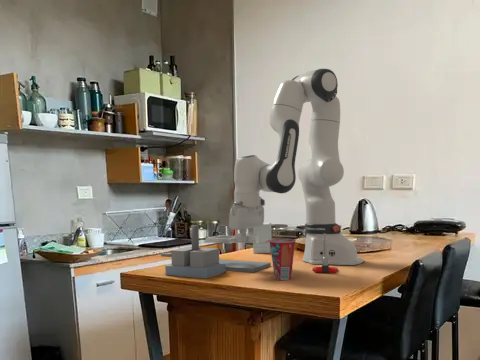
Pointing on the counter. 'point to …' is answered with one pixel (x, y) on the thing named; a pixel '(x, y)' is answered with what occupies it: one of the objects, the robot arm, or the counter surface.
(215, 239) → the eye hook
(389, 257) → the counter surface
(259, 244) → the supplement box
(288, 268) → the cup
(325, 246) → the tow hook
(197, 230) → the vise
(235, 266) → the mat
